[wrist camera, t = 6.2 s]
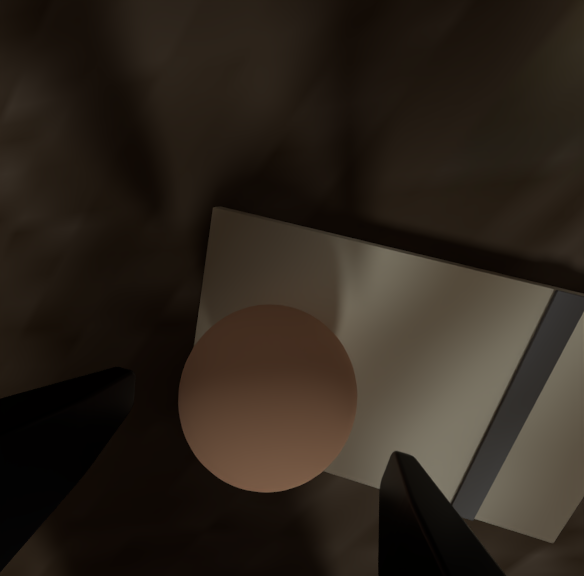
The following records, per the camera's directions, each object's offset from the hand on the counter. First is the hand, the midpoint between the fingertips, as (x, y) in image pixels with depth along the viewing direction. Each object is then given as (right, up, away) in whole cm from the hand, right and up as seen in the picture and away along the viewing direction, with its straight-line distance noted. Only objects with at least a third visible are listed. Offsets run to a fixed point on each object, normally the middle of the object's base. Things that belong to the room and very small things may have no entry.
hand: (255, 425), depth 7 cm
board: (+4, 0, +3) cm, 5 cm away
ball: (+1, +1, +3) cm, 3 cm away
